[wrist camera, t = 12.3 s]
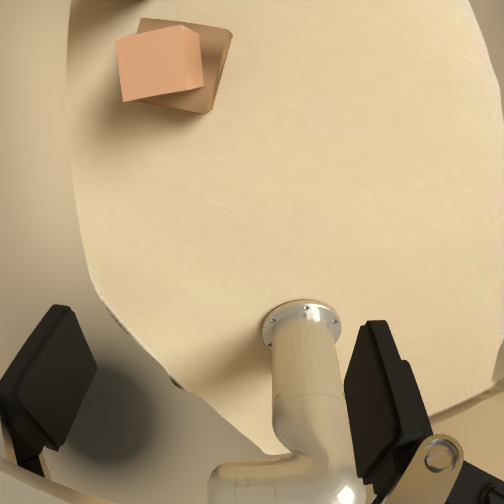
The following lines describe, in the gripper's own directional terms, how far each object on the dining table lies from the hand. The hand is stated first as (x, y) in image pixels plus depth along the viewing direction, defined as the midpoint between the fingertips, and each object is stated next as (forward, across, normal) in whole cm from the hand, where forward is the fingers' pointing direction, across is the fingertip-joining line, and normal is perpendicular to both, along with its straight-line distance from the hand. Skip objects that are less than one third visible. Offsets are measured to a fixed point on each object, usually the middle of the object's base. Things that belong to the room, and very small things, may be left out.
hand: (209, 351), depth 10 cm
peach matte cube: (+25, +8, -10) cm, 28 cm away
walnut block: (+30, +8, -10) cm, 33 cm away
